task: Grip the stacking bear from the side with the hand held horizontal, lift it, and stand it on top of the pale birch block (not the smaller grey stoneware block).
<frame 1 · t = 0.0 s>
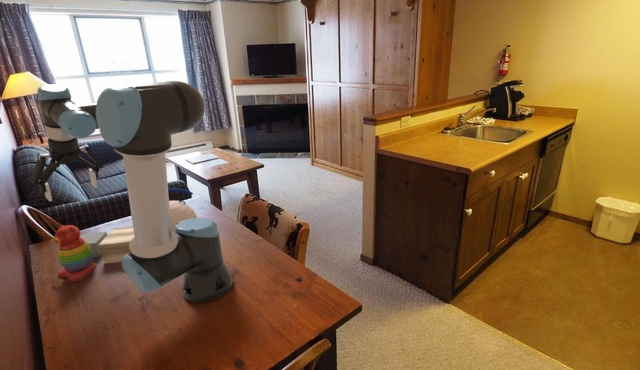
hand: (72, 192, 116), 28 cm above the table, tool tilted 20°, fingers open, 13 cm apart
kettle: (174, 227, 150), on the table
stacking bear: (80, 272, 120), on the table
stoneware block: (92, 251, 133), on the table
birch block: (129, 252, 131), on the table
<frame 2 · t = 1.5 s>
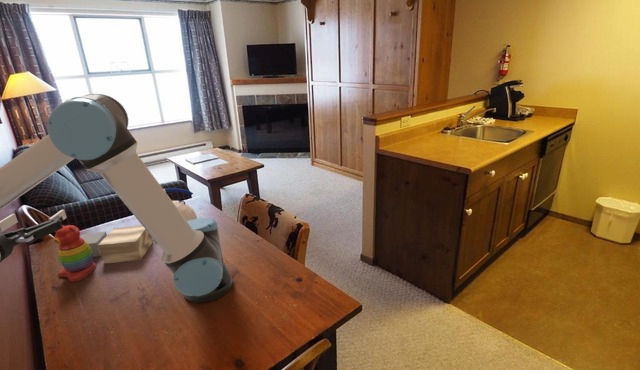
hand: (39, 215, 102), 26 cm above the table, tool horizontal, fingers open, 13 cm apart
nothing on the table moved.
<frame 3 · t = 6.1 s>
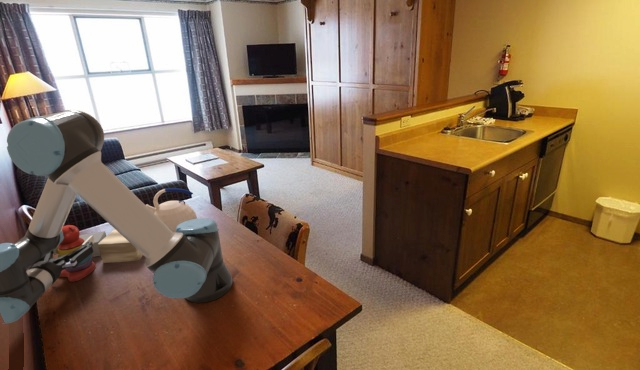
hand: (78, 240, 121), 10 cm above the table, tool horizontal, fingers closed on stacking bear, 9 cm apart
stacking bear: (80, 271, 120), on the table, touching gripper
everything else where it was.
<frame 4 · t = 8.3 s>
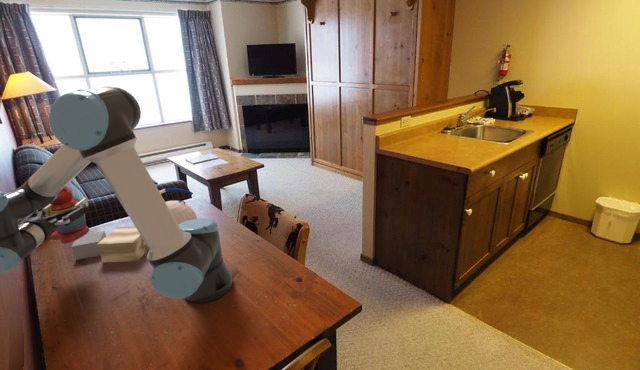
hand: (71, 203, 117), 24 cm above the table, tool horizontal, fingers closed on stacking bear, 9 cm apart
stacking bear: (73, 235, 117), point 14 cm above the table, touching gripper
everything else where it was.
when the fingers open (19 cm above the table, at t = 10.7 s): stacking bear drops 1 cm, resting on birch block.
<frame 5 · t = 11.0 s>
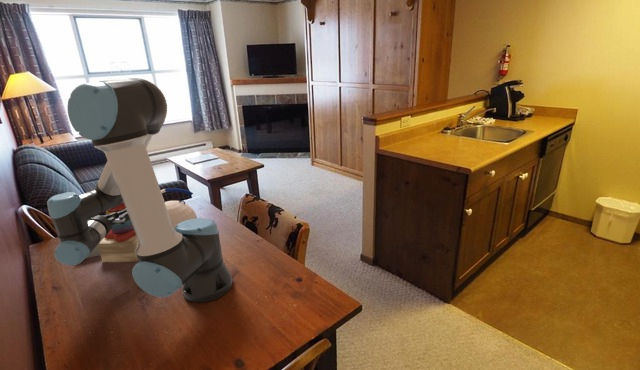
hand: (121, 203, 128), 19 cm above the table, tool horizontal, fingers open, 11 cm apart
stacking bear: (124, 234, 128), point 8 cm above the table, touching birch block
birch block: (129, 252, 131), on the table, touching stacking bear
everything else where it was.
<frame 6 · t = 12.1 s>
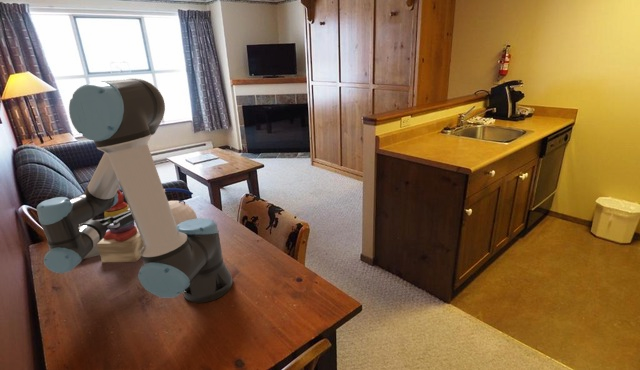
hand: (117, 207, 124), 19 cm above the table, tool horizontal, fingers open, 13 cm apart
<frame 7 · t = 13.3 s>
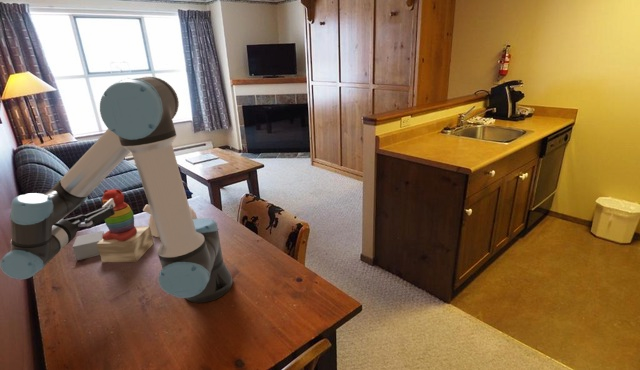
hand: (91, 204, 112), 25 cm above the table, tool horizontal, fingers open, 13 cm apart
nothing on the table moved.
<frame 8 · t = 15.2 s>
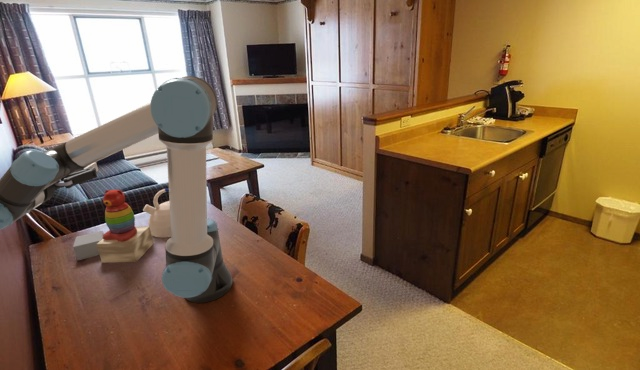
hand: (73, 168, 106), 38 cm above the table, tool horizontal, fingers open, 13 cm apart
at the end: stacking bear 0.5 cm from the birch block (horizontally); stacking bear touching birch block; stacking bear tilted 0° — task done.
